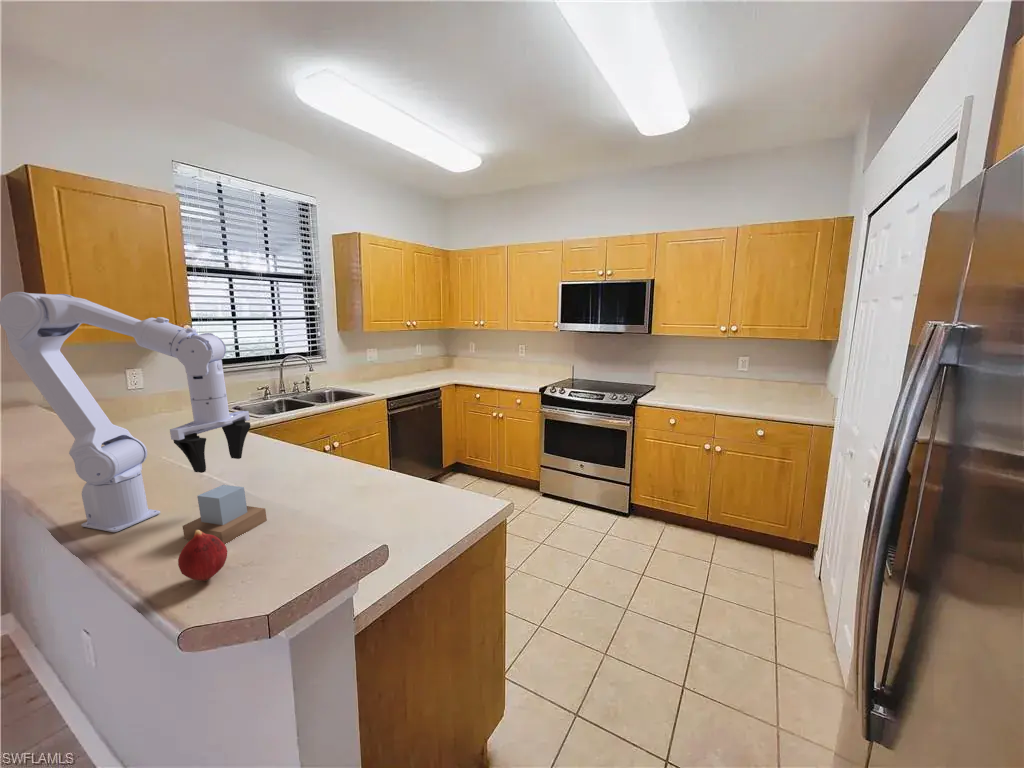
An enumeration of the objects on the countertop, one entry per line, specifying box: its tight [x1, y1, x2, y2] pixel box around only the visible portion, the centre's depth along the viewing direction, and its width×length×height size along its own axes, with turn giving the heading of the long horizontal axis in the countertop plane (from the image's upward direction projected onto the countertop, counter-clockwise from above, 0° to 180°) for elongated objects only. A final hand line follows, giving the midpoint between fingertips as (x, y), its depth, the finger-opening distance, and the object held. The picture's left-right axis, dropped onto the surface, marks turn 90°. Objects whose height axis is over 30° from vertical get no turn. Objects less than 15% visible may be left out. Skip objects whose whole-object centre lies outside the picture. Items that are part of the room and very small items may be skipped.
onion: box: [177, 530, 228, 582], centre depth 62 cm, size 6×6×8 cm
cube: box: [196, 484, 248, 525], centre depth 77 cm, size 5×5×5 cm
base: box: [182, 505, 268, 545], centre depth 78 cm, size 9×9×3 cm
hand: (219, 464), depth 84 cm, fingers open, 7 cm apart
